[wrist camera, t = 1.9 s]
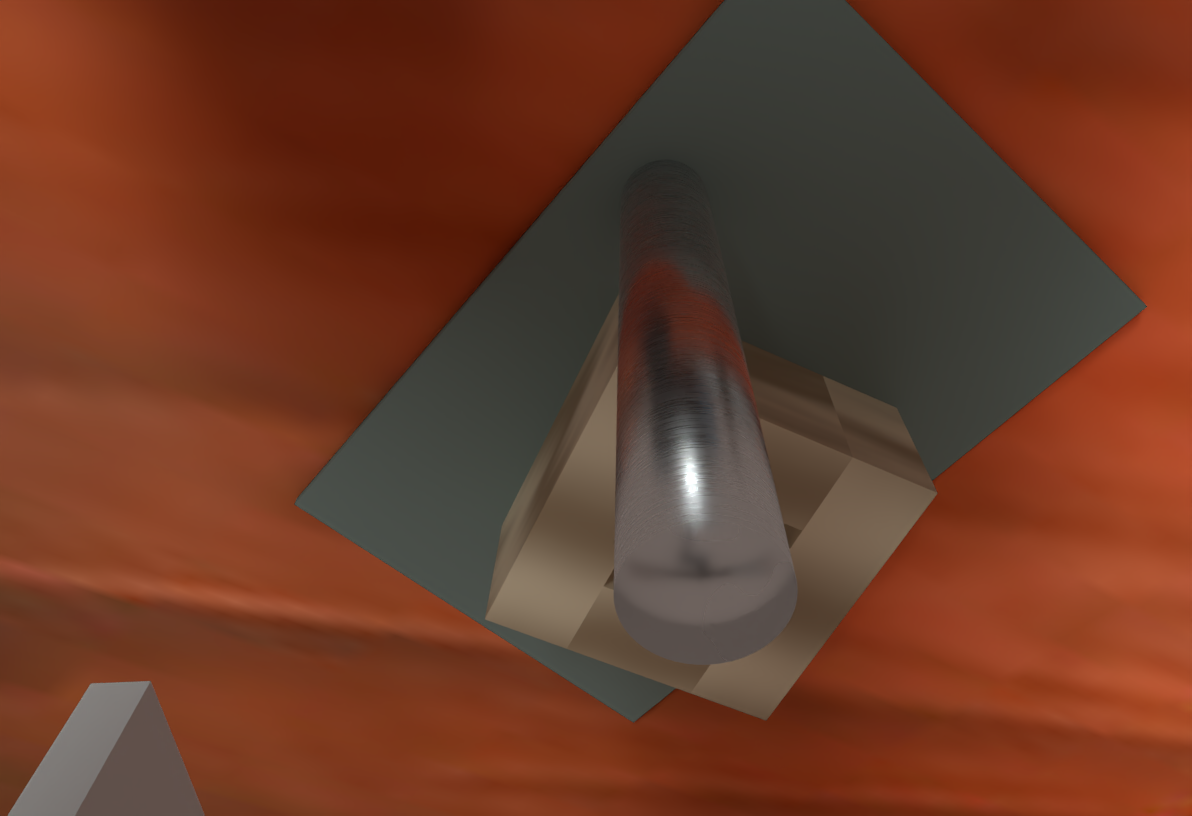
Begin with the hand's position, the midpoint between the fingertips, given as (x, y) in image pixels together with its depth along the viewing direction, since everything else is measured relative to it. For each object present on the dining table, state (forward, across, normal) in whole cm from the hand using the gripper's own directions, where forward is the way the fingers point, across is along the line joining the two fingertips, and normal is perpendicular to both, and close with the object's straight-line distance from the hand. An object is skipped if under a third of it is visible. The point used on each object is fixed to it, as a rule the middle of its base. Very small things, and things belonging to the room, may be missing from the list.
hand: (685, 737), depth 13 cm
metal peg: (+20, 0, 0) cm, 20 cm away
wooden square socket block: (+20, +1, -9) cm, 22 cm away
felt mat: (+21, +1, -7) cm, 22 cm away
